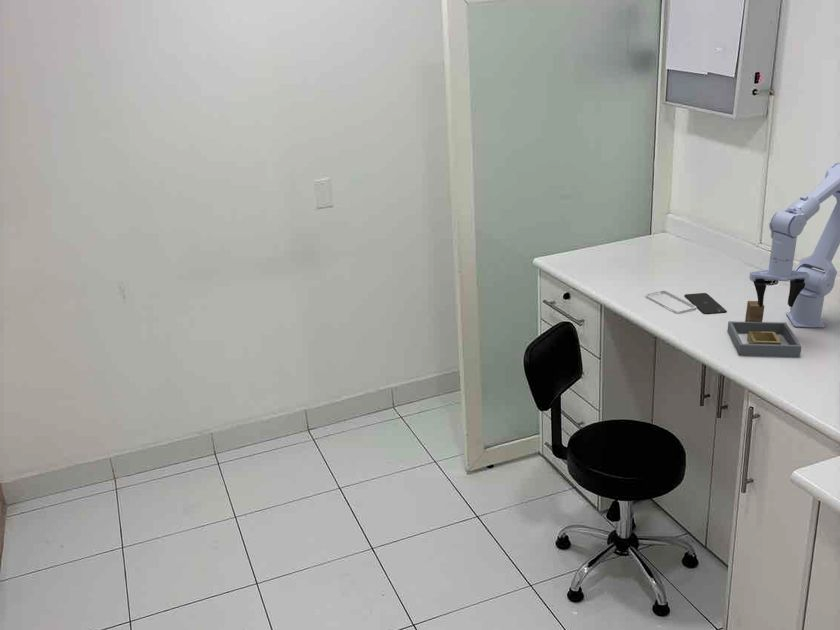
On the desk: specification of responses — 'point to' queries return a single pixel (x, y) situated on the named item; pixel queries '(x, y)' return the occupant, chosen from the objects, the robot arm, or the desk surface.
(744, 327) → the walled box
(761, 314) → the walnut peg
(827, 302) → the desk surface
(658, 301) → the phone case
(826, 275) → the robot arm
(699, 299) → the smartphone
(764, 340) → the frame
